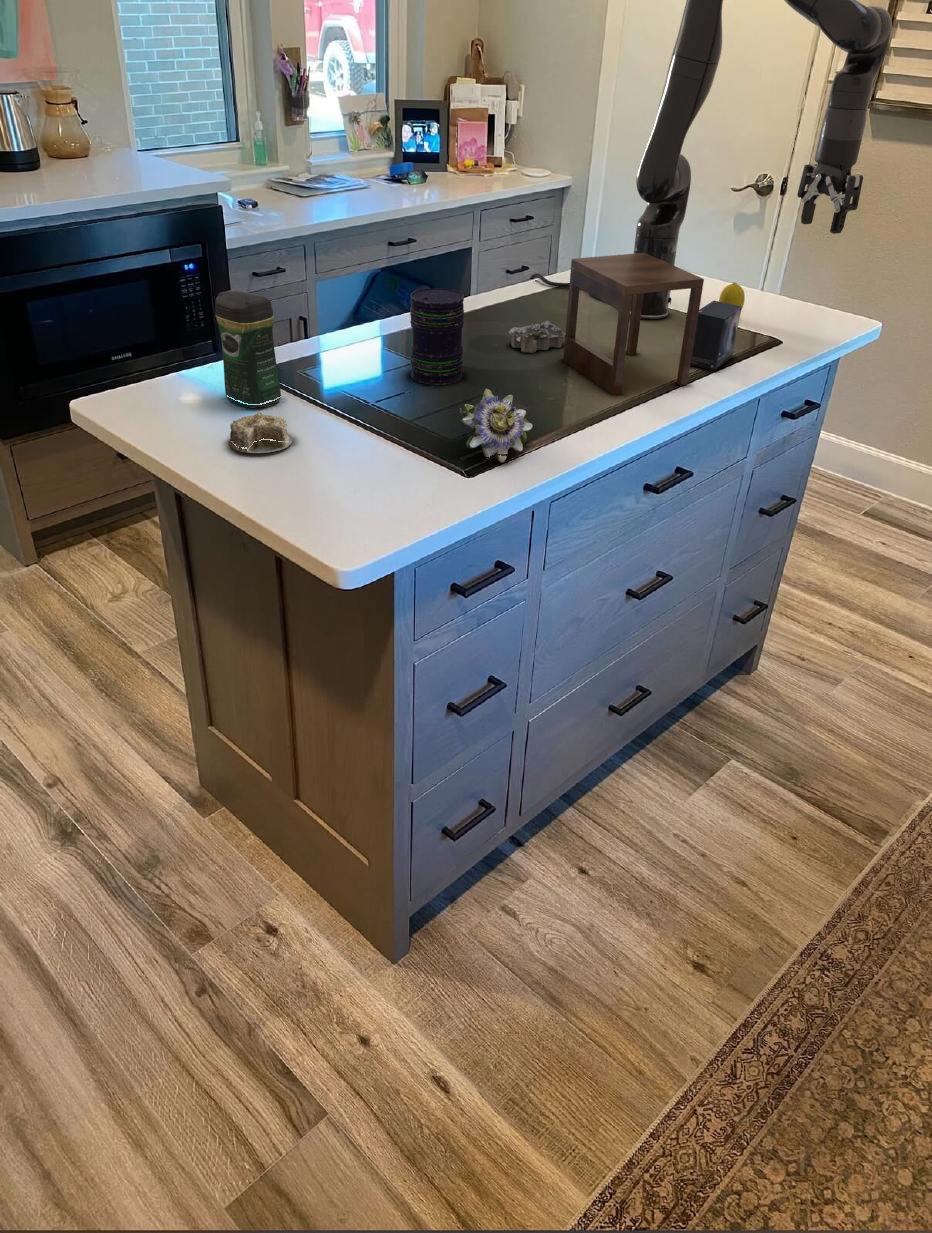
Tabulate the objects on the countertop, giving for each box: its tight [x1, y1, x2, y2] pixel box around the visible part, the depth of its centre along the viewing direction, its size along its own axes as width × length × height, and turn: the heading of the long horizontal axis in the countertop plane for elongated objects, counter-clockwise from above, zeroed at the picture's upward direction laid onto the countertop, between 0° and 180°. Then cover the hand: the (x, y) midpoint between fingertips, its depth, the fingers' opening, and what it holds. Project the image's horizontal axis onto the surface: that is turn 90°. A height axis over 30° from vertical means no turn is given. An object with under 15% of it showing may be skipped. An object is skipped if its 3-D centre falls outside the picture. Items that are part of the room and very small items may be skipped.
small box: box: [690, 300, 743, 371], centre depth 187 cm, size 11×6×10 cm, turn 148°
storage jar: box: [409, 287, 465, 386], centre depth 175 cm, size 10×10×15 cm
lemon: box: [718, 282, 746, 311], centre depth 212 cm, size 6×6×8 cm
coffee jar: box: [214, 288, 282, 409], centre depth 162 cm, size 10×8×19 cm
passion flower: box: [458, 388, 534, 464], centre depth 149 cm, size 11×11×12 cm
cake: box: [228, 412, 293, 454], centre depth 150 cm, size 10×10×5 cm
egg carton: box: [508, 320, 566, 354], centre depth 194 cm, size 11×8×4 cm
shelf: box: [562, 253, 705, 396], centre depth 178 cm, size 20×16×20 cm
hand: (820, 228), depth 183 cm, fingers open, 8 cm apart
